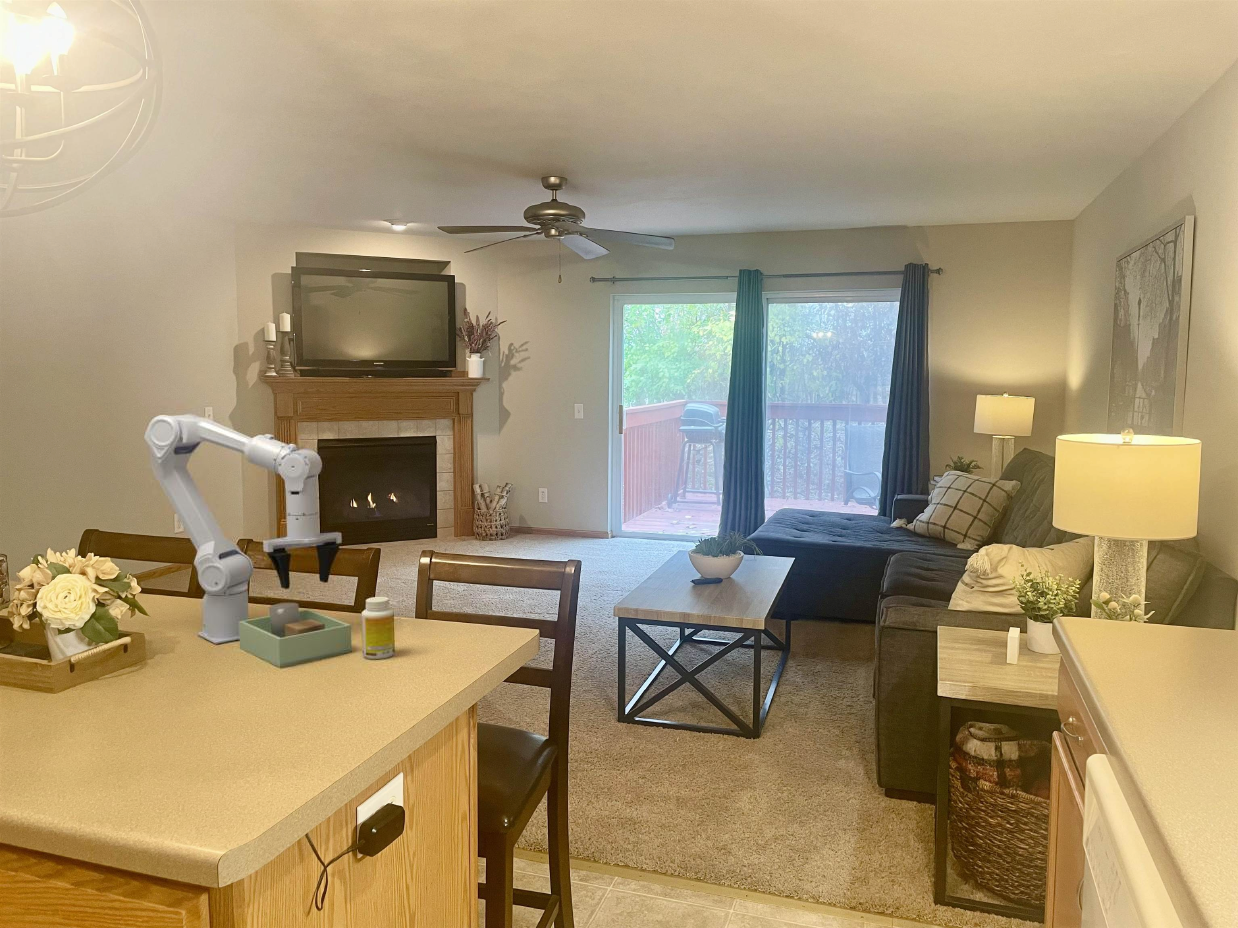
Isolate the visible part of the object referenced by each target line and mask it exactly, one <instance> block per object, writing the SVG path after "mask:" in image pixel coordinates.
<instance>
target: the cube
mask: <svg viewBox="0 0 1238 928" xmlns="http://www.w3.org/2000/svg"><path fill="white" fill-rule="evenodd" d="M324 629H325V624H323V623H320V622H318V621H315V620H312V619H310V620H305V621H300V622H295V623H290V624H285V637H289V636H294V635H299V634H304V633H309V632H314V631H319V630H324Z"/></svg>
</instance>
